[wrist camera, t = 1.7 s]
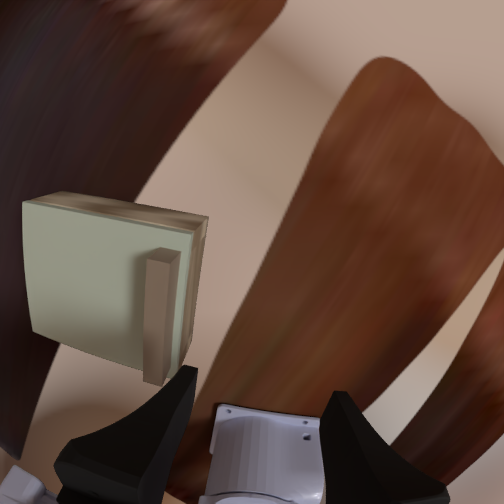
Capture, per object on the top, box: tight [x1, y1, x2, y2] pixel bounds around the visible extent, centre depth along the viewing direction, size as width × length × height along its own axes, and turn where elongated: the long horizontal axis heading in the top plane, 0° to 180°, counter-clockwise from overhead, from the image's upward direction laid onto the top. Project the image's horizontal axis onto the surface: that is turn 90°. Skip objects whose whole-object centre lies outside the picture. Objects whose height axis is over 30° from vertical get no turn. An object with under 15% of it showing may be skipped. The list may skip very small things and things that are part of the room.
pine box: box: [31, 191, 209, 370], centre depth 21 cm, size 12×10×4 cm
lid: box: [22, 200, 194, 386], centre depth 17 cm, size 12×10×3 cm
